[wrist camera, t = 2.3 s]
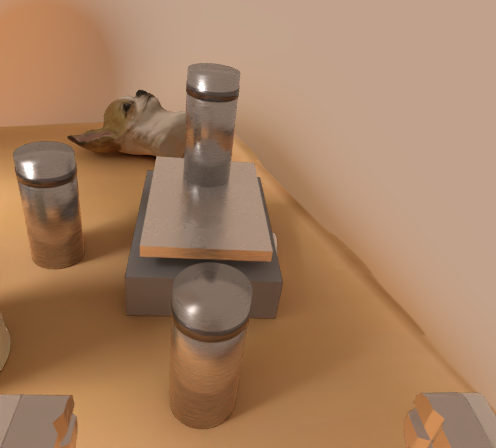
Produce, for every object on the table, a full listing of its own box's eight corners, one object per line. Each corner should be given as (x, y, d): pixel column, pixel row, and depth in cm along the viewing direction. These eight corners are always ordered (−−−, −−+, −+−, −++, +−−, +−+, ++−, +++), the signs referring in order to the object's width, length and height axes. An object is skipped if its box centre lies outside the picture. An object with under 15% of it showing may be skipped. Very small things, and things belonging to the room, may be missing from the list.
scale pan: (139, 256, 34) (139, 245, 33) (156, 165, 46) (156, 156, 46) (270, 261, 35) (272, 251, 35) (253, 171, 48) (254, 163, 47)
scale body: (126, 315, 36) (124, 276, 34) (147, 202, 50) (147, 170, 48) (281, 318, 38) (289, 282, 35) (259, 208, 52) (264, 177, 49)
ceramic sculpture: (174, 111, 49) (56, 92, 53) (176, 182, 54) (67, 160, 57) (209, 87, 58) (106, 72, 61) (208, 150, 63) (112, 133, 66)
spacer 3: (166, 430, 28) (169, 316, 23) (170, 370, 32) (173, 260, 26) (237, 429, 29) (257, 318, 23) (234, 370, 33) (249, 263, 27)
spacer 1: (24, 268, 39) (3, 164, 33) (40, 237, 43) (23, 139, 37) (79, 270, 40) (67, 168, 34) (89, 239, 43) (80, 143, 38)
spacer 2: (181, 186, 41) (186, 76, 36) (183, 163, 45) (187, 60, 40) (230, 189, 42) (242, 81, 36) (228, 166, 46) (238, 65, 40)
